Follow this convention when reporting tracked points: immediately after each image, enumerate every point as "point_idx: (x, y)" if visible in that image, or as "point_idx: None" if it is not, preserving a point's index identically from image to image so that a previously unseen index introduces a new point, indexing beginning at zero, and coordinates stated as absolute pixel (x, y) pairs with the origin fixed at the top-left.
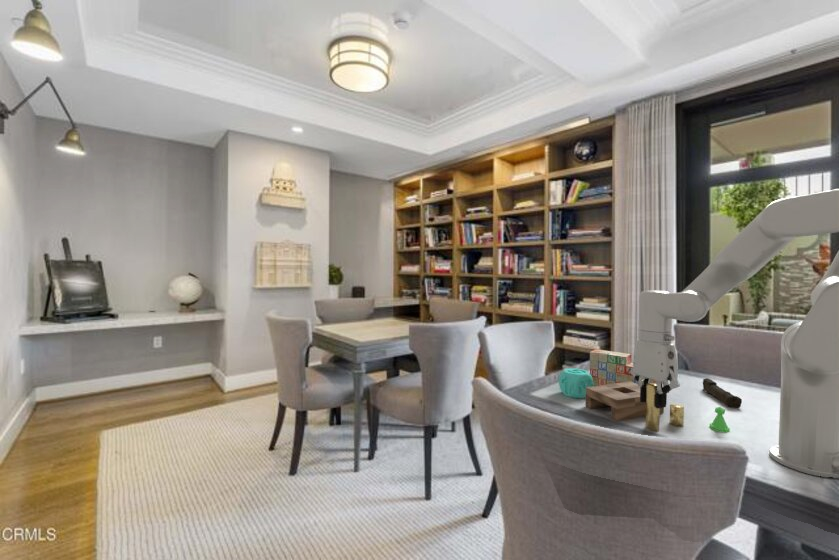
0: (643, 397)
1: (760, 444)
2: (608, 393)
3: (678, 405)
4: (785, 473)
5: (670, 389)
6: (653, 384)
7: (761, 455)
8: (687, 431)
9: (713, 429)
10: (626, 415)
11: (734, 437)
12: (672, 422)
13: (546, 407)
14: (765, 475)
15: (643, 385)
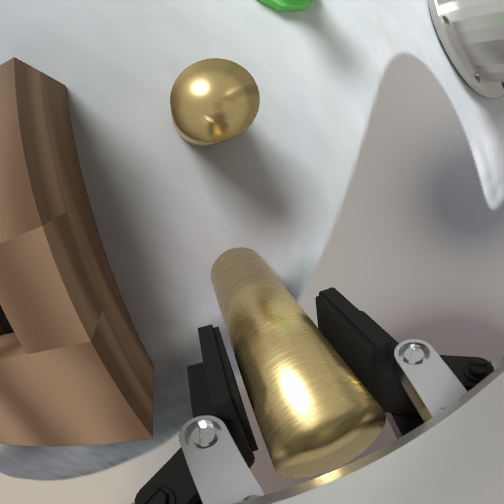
0: (241, 399)
1: (399, 4)
2: (52, 423)
3: (201, 74)
4: (492, 129)
5: (462, 366)
6: (328, 444)
7: (448, 79)
8: (288, 132)
9: (284, 10)
10: (131, 335)
11: (356, 14)
12: (211, 144)
13: (70, 469)
14: (491, 179)
15: (248, 465)
